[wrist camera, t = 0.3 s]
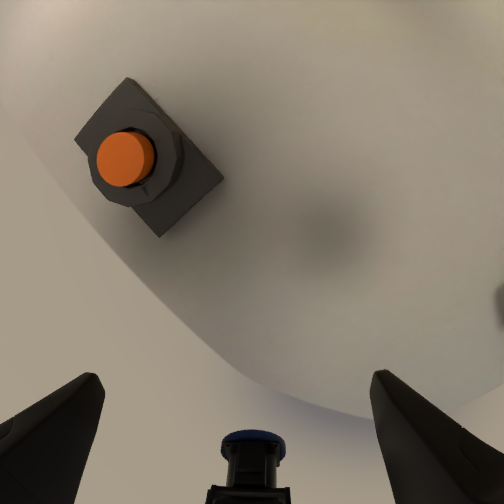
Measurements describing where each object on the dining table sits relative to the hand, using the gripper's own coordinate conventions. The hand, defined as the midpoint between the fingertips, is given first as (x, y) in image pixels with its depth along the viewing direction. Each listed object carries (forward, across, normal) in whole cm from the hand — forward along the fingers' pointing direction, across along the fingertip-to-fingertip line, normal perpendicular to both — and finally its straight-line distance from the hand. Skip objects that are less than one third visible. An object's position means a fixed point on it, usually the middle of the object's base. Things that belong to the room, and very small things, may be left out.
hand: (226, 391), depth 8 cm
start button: (+11, +7, -7) cm, 15 cm away
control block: (+14, +7, -7) cm, 17 cm away
